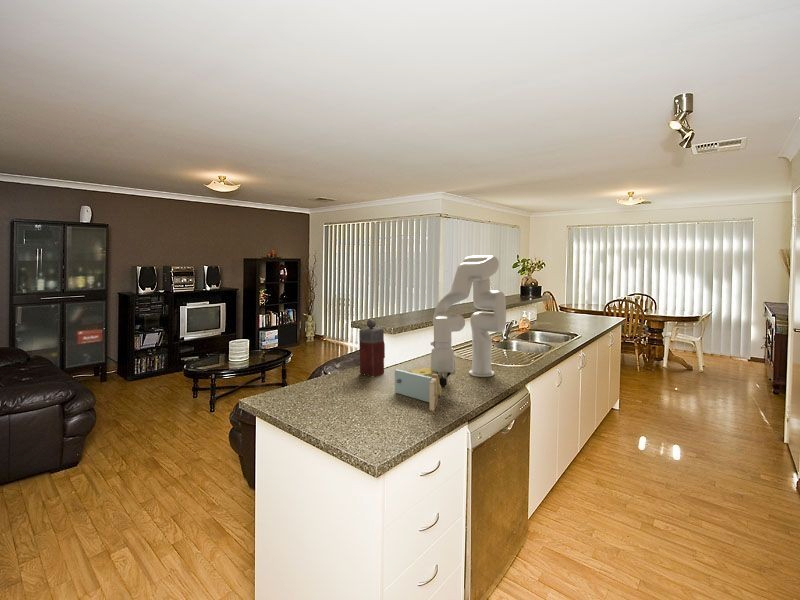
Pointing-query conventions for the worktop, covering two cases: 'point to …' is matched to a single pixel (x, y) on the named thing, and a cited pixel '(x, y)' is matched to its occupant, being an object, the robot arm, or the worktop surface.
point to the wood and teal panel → (434, 390)
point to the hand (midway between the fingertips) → (443, 386)
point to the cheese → (426, 374)
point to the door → (412, 385)
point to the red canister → (371, 349)
